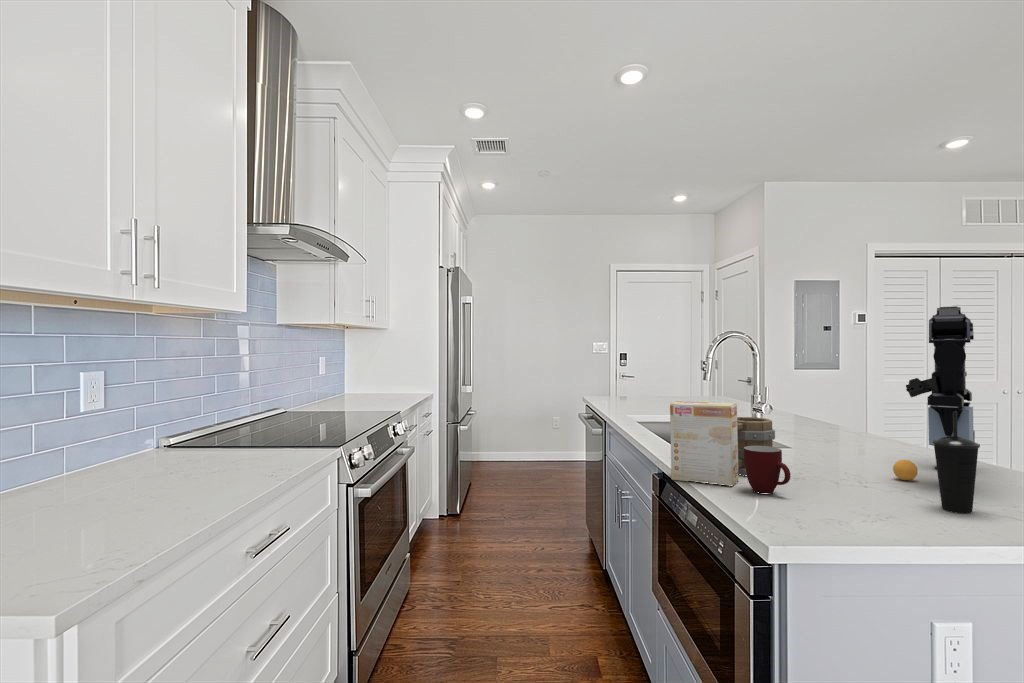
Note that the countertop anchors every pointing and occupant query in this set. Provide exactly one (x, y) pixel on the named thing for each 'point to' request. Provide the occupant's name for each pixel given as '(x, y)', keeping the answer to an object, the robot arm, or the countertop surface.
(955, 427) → the drinking cup
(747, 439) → the tankard
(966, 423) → the slate grey cube
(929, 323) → the robot arm
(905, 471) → the ball
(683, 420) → the coffeecake box
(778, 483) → the mug
